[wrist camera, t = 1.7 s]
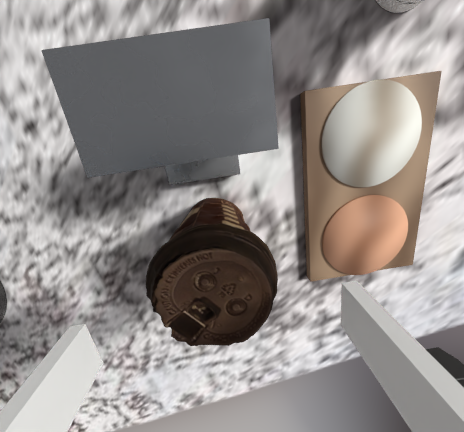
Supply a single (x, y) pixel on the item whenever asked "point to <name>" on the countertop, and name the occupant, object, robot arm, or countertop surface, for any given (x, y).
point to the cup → (398, 5)
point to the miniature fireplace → (170, 100)
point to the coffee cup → (213, 277)
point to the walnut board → (365, 172)
